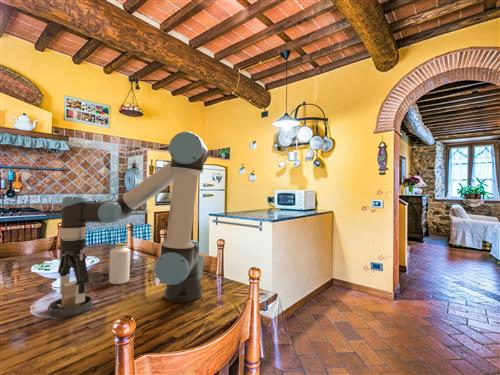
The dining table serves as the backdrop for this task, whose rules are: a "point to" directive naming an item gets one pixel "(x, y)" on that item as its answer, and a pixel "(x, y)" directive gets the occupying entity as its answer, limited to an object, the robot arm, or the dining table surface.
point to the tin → (57, 309)
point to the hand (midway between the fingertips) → (72, 297)
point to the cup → (200, 266)
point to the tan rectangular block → (69, 295)
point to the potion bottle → (119, 264)
